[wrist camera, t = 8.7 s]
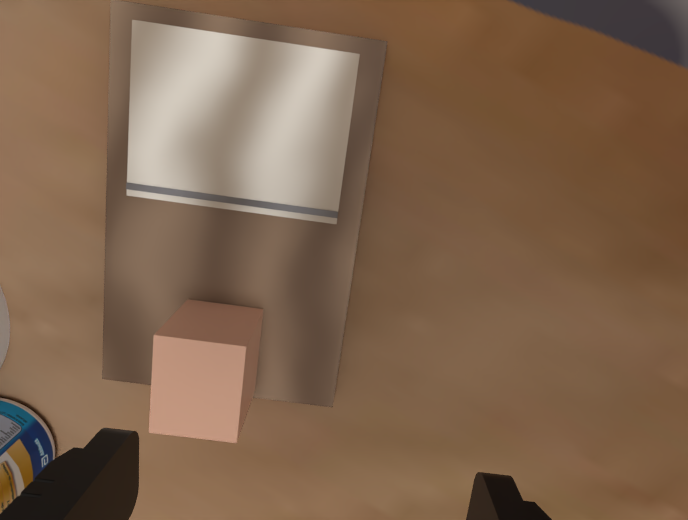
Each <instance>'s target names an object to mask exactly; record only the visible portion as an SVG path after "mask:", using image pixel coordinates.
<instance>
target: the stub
mask: <svg viewBox="0 0 688 520" xmlns="http://www.w3.org/2000/svg"><path fill="white" fill-rule="evenodd" d="M263 310H264V309H259V308H251V307H244V306H236V305H228V304H221V303H213V302H205V301H198V300H190V299H188V300H187V301H186V302H185V303H184V304H183V305H182V306H181V307H180V308H179V309H178V310H177V311H176V312H175V313H174V314H173V315H172V316H171V317H170V318H169V319H168V320H167V321H166V323H165V324H164V325H163V326H162V327H161V328H160V329H159V330H158V331H157V332H156V333H155V334H154V337H153V357H152V378H151V398H150V419H149V433H156V434H165V435H173V436H182V437H190V438H198V439H207V440H215V441H223V442H232V443H237V441H238V438H239V435H240V432H241V429H242V427H243V424H244V421H245V418H246V415H247V412H248V409H249V406H250V403H251V401H252V398H253V395H254V392H255V386H256V376H257V367H258V357H259V348H260V338H261V329H262V320H263Z"/></svg>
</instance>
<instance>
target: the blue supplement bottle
mask: <svg viewBox="0 0 688 520" xmlns="http://www.w3.org/2000/svg"><path fill="white" fill-rule="evenodd" d="M54 459H55V445H54V440H53V437H52V435H51V432H50V430H49V429H48V427H47V425H46V424H45V423H44V421H43V420H42V419H41V418H40V417H39V416H38V415H37V414H36V413H35V412H33V411H32V410H31V409H29V408H28V407H26V406H24V405H22V404H20V403H18V402H15V401H12V400H9V399H4V398H0V514H1V513H2V512H3V510H4V509H5V508H6V507H7V506H8V505H9V504H10V503H11V502H12V501H13V500H14V499H15V498H16V497H17V496H20V495H21V492H22V491H23V490H24V489H25V488H26V487H27V486H28V485H29V484H30V482H31V481H32V482H34V480H35V477H36V476H37V475H38V474H39V473H40V472H41V471H42V470H43V469H44V468H45V467H46V466H47V465H48V464H49V463H50V462H51V461H52V460H54Z"/></svg>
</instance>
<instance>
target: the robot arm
mask: <svg viewBox="0 0 688 520" xmlns="http://www.w3.org/2000/svg"><path fill="white" fill-rule="evenodd" d="M138 487H139V436H138V433H137V432H136V431H128V430H120V429H111V428H103V429H101V430H100V431H99V432H98V433H97V434H96V435H95V436H94V437H93V439H92V440H91V441H90V442H89V443H88V444H87V445H86V446H85V447H84V449H82V448H73V449H71V450H69V451H67V452H66V453H64V454H62V455H61V456H59V457H57V458H55V459H54V460H52V461H51V462H50V463H49V464H48V465H47V466H46V467H45V468H44V469H43V470H42V471H41V472H40V473H39V474H38V475H37V476H36V477H35V480H34V482H32V481H31V482H30V484H29V485H28V486H27V487H26V488H25V489H24V490H23V491H22V492H21V495H20V496H17V497H16V498H15V499H14V500H13V501H12V502H11V503H10V504H9V505H8V506H7V507H6V508H5V509H4V510H3V512H2V513H1V514H0V520H128V519H129V518H130V516H131V514H132V511H133V509H134V506H135V503H136V499H137V495H138ZM466 520H552V519H551V518H550V517H549V516H548V515H547V514H546V513H545V512H544V511H543V510H542V509H541V508H540V507H539V506H538V505H537V504H536V503H535V502H529V501H523V499H522V497H521V495H520V493H519V491H518V488H517V486H516V484H515V482H514V480H513V478H512V477H511V476H508V475H499V474H490V473H482V472H478V473H477V474H476V476H475V479H474V484H473V489H472V494H471V499H470V504H469V509H468V513H467V518H466Z"/></svg>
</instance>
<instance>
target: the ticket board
mask: <svg viewBox="0 0 688 520" xmlns="http://www.w3.org/2000/svg"><path fill="white" fill-rule="evenodd" d="M386 48H387V41H382V40H375V39H368V38H362V37H355V36H349V35H342V34H336V33H329V32H323V31H316V30H309V29H303V28H296V27H290V26H283V25H277V24H270V23H264V22H257V21H250V20H244V19H237V18H231V17H224V16H218V15H211V14H205V13H198V12H191V11H185V10H178V9H172V8H165V7H159V6H152V5H145V4H139V3H132V2H126V1H119V0H111V7H110V52H109V98H108V143H107V189H106V234H105V279H104V325H103V370H102V379H107V380H115V381H123V382H131V383H139V384H147V385H151V378H152V357H153V337H154V334H155V333H156V332H157V331H158V330H159V329H160V328H161V327H162V326H163V325H164V324H165V323H166V321H167V320H168V319H169V318H170V317H171V316H172V315H173V314H174V313H175V312H176V311H177V310H178V309H179V308H180V307H181V306H182V305H183V304H184V303H185V302H186V301H187V300H188V299H190V300H198V301H205V302H213V303H221V304H228V305H236V306H244V307H251V308H259V309H264V310H263V320H262V329H261V338H260V348H259V357H258V367H257V376H256V386H255V392H254V395H253V398H261V399H269V400H277V401H285V402H293V403H302V404H310V405H318V406H326V407H333V402H334V395H335V388H336V382H337V375H338V368H339V362H340V355H341V348H342V342H343V335H344V328H345V322H346V315H347V308H348V302H349V295H350V288H351V282H352V275H353V268H354V262H355V255H356V248H357V242H358V235H359V228H360V222H361V215H362V208H363V201H364V195H365V188H366V181H367V175H368V168H369V161H370V155H371V148H372V141H373V135H374V128H375V121H376V115H377V108H378V101H379V95H380V88H381V81H382V75H383V68H384V61H385V55H386Z"/></svg>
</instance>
